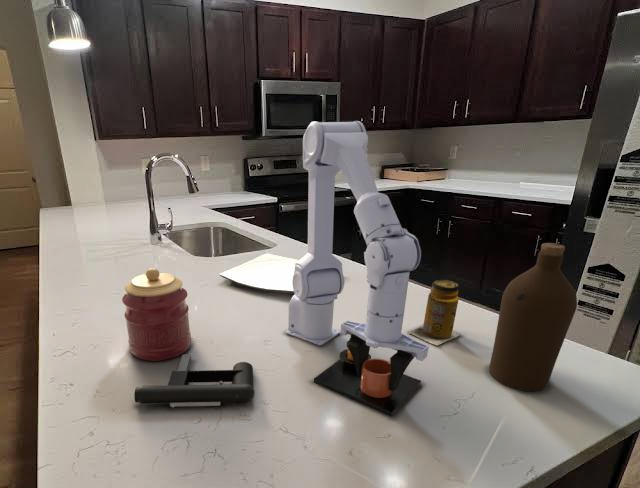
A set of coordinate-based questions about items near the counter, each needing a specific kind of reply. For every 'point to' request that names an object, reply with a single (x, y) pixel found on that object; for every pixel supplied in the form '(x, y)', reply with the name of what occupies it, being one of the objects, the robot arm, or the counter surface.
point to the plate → (264, 273)
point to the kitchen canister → (156, 316)
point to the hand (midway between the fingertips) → (377, 381)
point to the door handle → (200, 386)
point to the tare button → (349, 356)
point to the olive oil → (533, 323)
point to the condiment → (439, 313)
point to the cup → (376, 377)
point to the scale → (348, 384)
